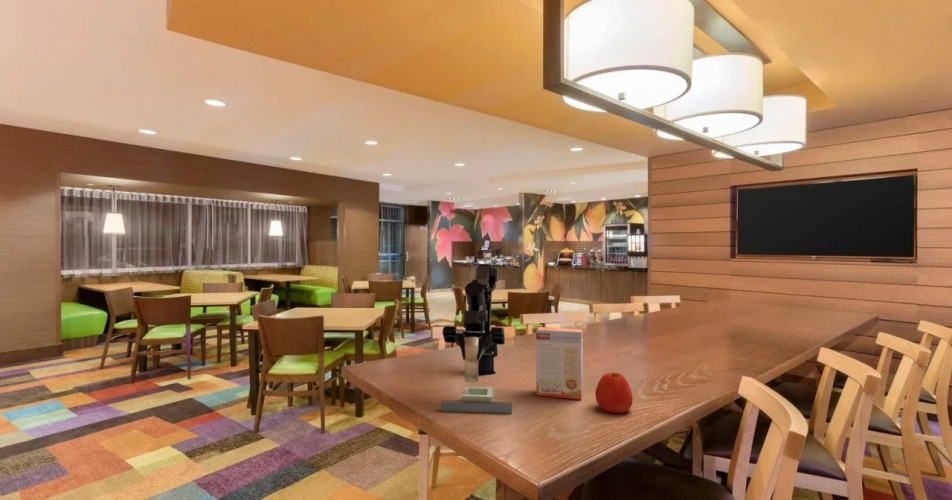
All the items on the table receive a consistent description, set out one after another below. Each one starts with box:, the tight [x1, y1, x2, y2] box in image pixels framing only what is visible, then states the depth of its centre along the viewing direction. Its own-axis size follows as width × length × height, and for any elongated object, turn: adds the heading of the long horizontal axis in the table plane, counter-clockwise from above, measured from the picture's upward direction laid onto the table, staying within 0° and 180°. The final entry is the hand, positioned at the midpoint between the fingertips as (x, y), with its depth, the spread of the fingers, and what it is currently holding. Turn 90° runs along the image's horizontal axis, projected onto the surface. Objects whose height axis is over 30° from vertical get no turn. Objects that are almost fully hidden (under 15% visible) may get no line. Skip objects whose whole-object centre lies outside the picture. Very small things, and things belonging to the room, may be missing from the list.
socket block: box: [461, 386, 494, 402], centre depth 129 cm, size 9×9×4 cm
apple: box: [594, 372, 634, 414], centre depth 125 cm, size 10×10×10 cm
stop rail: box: [440, 399, 513, 415], centre depth 123 cm, size 2×20×2 cm, turn 85°
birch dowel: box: [464, 337, 479, 383], centre depth 129 cm, size 4×4×12 cm
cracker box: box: [535, 326, 584, 401], centre depth 137 cm, size 14×6×21 cm, turn 71°
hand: (470, 359), depth 128 cm, fingers closed on birch dowel, 4 cm apart
